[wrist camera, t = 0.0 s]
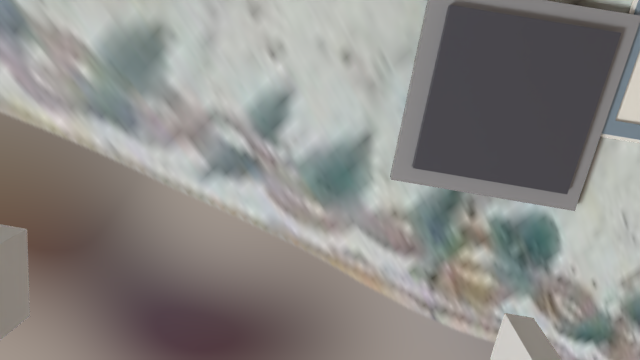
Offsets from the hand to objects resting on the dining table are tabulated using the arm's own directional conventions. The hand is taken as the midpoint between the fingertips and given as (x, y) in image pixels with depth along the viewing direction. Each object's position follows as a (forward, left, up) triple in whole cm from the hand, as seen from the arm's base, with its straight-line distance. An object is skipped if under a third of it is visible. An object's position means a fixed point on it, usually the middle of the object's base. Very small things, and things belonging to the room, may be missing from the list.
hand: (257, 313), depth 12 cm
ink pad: (-5, +15, -28) cm, 32 cm away
